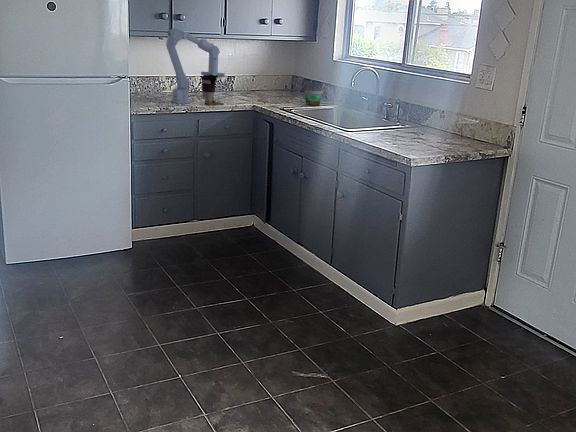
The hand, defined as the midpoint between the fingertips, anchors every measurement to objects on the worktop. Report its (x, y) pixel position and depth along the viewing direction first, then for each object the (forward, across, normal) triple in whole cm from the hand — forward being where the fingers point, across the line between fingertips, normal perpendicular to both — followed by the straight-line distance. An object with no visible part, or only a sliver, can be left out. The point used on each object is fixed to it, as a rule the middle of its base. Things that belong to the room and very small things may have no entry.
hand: (212, 87), depth 404 cm
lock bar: (+8, +1, -7) cm, 11 cm away
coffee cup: (+10, -6, +17) cm, 20 cm away
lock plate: (+9, +2, -6) cm, 12 cm away
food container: (+10, +64, +20) cm, 67 cm away
